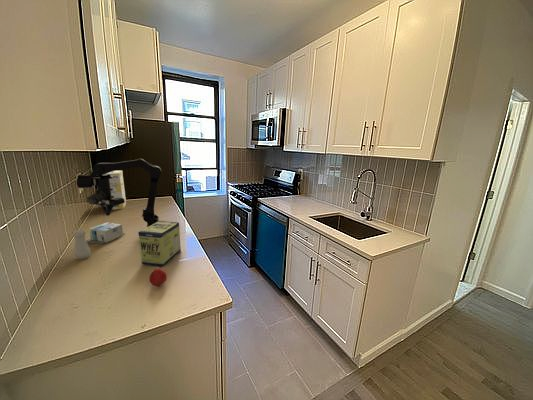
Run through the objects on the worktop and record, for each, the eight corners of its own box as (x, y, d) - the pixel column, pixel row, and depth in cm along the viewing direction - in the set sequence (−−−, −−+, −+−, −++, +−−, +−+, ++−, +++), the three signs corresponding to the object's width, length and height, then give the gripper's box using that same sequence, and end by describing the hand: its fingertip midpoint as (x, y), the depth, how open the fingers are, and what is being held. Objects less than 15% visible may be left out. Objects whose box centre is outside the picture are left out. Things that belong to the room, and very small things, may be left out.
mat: (125, 234, 129) (125, 233, 129) (102, 244, 116) (102, 243, 116) (108, 231, 132) (108, 231, 132) (84, 241, 119) (84, 240, 119)
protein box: (141, 265, 98) (137, 232, 95) (162, 249, 113) (159, 220, 110) (163, 267, 97) (160, 234, 93) (181, 251, 112) (179, 221, 108)
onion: (149, 292, 81) (147, 273, 79) (150, 283, 86) (148, 264, 84) (167, 289, 83) (165, 269, 81) (167, 280, 88) (165, 262, 86)
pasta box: (123, 208, 176) (119, 173, 170) (107, 210, 172) (102, 173, 165) (126, 203, 192) (122, 170, 185) (111, 204, 188) (107, 170, 181)
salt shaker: (73, 261, 99) (68, 234, 96) (77, 255, 104) (72, 229, 101) (90, 258, 102) (85, 232, 99) (92, 253, 107) (88, 227, 103)
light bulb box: (105, 231, 116) (88, 228, 118) (106, 242, 117) (90, 240, 120) (122, 224, 126) (106, 221, 128) (123, 235, 127) (107, 232, 130)
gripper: (73, 188, 112) (79, 218, 116) (104, 191, 108) (108, 222, 112) (95, 185, 122) (99, 212, 126) (123, 187, 118) (127, 215, 122)
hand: (108, 215), depth 121 cm, fingers closed
